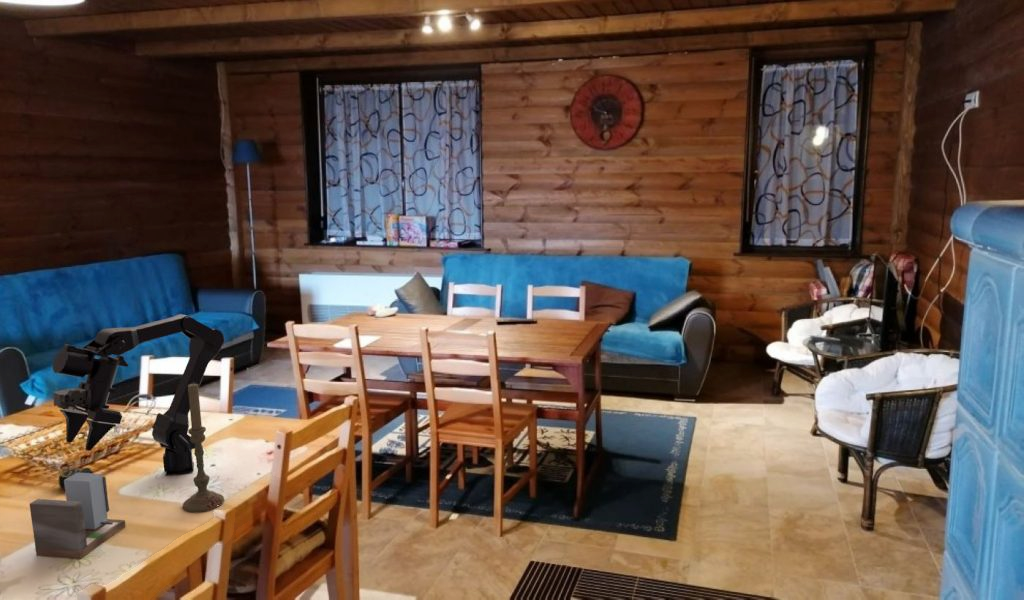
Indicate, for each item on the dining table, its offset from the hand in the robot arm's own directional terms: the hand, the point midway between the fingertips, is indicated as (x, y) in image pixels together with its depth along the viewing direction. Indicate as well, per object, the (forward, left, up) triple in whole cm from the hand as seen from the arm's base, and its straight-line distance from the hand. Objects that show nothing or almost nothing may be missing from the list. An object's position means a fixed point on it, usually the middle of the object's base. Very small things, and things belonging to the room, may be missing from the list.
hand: (78, 446), depth 172 cm
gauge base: (-2, +20, -14) cm, 25 cm away
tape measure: (+3, -13, -15) cm, 20 cm away
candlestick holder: (-26, +11, -15) cm, 32 cm away
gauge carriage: (-4, +17, -13) cm, 21 cm away
